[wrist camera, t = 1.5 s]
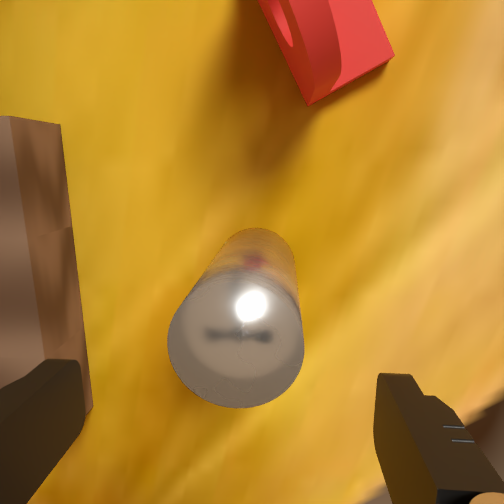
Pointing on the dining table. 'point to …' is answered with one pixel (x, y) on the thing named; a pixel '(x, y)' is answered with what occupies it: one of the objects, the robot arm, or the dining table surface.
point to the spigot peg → (241, 324)
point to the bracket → (327, 41)
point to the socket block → (37, 254)
